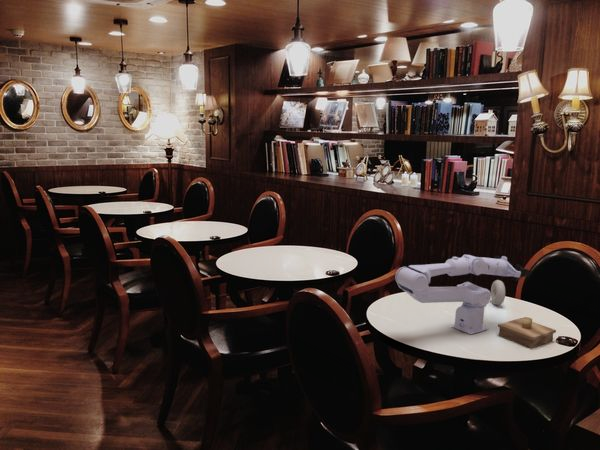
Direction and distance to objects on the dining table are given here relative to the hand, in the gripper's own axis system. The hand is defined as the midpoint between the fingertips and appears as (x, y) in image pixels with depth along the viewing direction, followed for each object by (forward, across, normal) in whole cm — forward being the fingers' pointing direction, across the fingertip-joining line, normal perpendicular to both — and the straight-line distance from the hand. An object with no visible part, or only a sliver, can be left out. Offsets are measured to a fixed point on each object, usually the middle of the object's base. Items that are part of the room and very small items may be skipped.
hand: (519, 269), depth 191 cm
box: (-6, -15, +20) cm, 25 cm away
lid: (-6, -15, +17) cm, 23 cm away
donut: (+11, +15, +20) cm, 27 cm away
